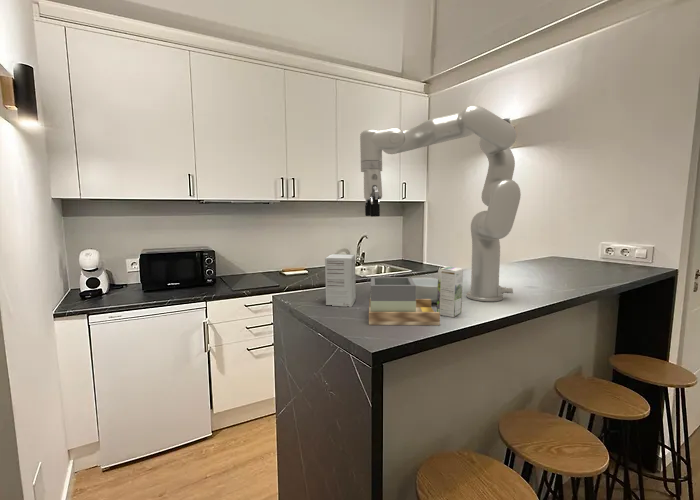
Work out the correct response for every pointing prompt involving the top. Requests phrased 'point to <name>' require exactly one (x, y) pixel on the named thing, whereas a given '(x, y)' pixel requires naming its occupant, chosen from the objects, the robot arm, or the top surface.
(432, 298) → the cereal bowl
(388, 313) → the bay
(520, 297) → the top surface
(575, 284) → the top surface
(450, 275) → the syrup box
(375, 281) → the crate
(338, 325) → the top surface
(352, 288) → the supplement box
